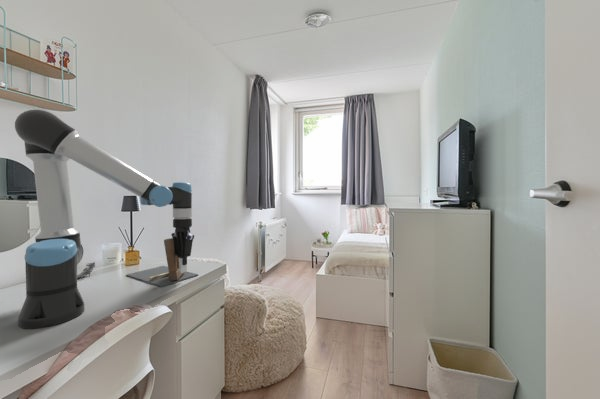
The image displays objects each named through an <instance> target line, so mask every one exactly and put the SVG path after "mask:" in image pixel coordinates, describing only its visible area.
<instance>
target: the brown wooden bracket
mask: <svg viewBox="0 0 600 399" xmlns="http://www.w3.org/2000/svg"><path fill="white" fill-rule="evenodd" d="M163 243H164V244H163V246H164V251H165V256H166V262H167V267H168V270H169V273H168V277H169V281H174V280H178V279H179V278H180V277H181V276H182V275H183V274H184V273H185V272H184V273H179V257H178V256H177V255H175V249H174V243H173V238H172V237H171V238H166V239H164V240H163Z"/></svg>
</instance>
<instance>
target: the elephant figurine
mask: <svg viewBox="0 0 600 399" xmlns="http://www.w3.org/2000/svg"><path fill="white" fill-rule="evenodd" d="M95 263H96V262H95V261H93V262H91V263H90V262H89V263H86V264H85V266H86V267H84V269H83V270H82V271H81V272H80V273H79V274H78V273H77V280H79V279H80V278H81V277H83V276H84V275H88V277H91V273H92V272H93V270H94V269H95V267H96V264H95Z"/></svg>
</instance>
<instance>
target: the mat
mask: <svg viewBox="0 0 600 399" xmlns="http://www.w3.org/2000/svg"><path fill="white" fill-rule="evenodd" d="M167 272H169V270H168V265H167V266H166V265H161V266H160V265H159V266H157V267H153V268H148V269H144V270H143V269H142V270H139V271H136V272H135V271H134V272H131V273H128V274H125V276H126V277H129V278H132V279H135V280H138V281H141V282H144V283H147V284H150V285H153V286H157V287H160V288H162V287H165V286H166V287H167V286H169V285H172V284H176V283H179V282H182V281H185V280H189V279H192V278H195V277H198V276H199V274H197V273H193V272H190V271H187V272H185V273H184V274H183V275H182V276H181V277H180V278H179V279H178V280H174V281H169V277H164V278H161V279H157V280H153V281H150V277H152V276H156V275H160V274H164V273H167Z"/></svg>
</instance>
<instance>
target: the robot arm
mask: <svg viewBox="0 0 600 399" xmlns="http://www.w3.org/2000/svg"><path fill="white" fill-rule="evenodd" d="M14 129H15V130H14V131H15V132H16V134H17V135H18V137H19V138H20V139H21V140H23V142H24V150H25V156H26V158H27V157H28V159H30V160H31V161H32V163H33V173H34V182H35V189H36V190H35V191H36V200H37V209H38V218H39V228H40V232H39V233H38V234H37V235H36V236H35V240H34V241H35V242H33V243H31V244H29V245H28V246H27V247H26V249H25V254H24V261H25V290H26V293H25V296H26V298H25V299H24V302H23V305H22V307H21V310H20V312H19V314H18V318H17V320H18V327H19V328H23V329H38V328H40V329H41V328H47V327H50V326H55V325H58V324H63V323H65V322H68V321H70V320H73V319H75V318H77V317H79V316H81V315H82V314H83V313H84V312H85V301H84V299H83V297H82V295H81V293H80V291H79V289H78V279H77V275H78V264H80V262H81V261H82V259H83V256H84V247H83V244H82V241H81V236H80V235H81V234H80V231H79V230H77V229H76V228H75V227H74V220H73V219H74V217H73V208H72V198H71V190H70V179H69V171H68V161H69V160H70V159H71V160H72V161H74V162H76V163H77V164H79V165H81V166H83V167H85V168H86V169H89V170H90V171H92V172H94V173H96V174H98V175H99V176H101V177H103V178H105V179H107V180H108V181H110V182H112V183H114V184H116V185H117V186H119V187H122V188H123V189H125V190H127V191H128V192H130V193H132V194H134V195H136V196H138V197H139V202H140V204H141V205H142V206H155V207H159V208H162V207H166V206H168V205H172V218H173V219H172V227H173V228H175V229H174V232H172V233H171V238H173V243H174V249H175V255H177V256H178V257H179V273H184V272H188V271H187V270H188V257H190V256H191V253H192V247H193V242H194V238H195V234H192V233H191V227H192V226H193V219H192V216H193V215H192V212H193V211H192V210H193V209H192V206H193V204H192V201H193V200H192V199H193V197H192V195H193V192H192V191H193V190H192V184H191V183H189V182H182V181H181V182H176V181H175V182H173V183H172V186H165V185H162V184H161V183H159V182H157V181H155V180H154V179H152V178H150V177H149V176H147V175H145V174H144V173H142V172H140V171H139V170H137V169H136V168H134V167H132V166H130V165H129V164H127V163H125V162H124V161H122V160H120V159H119V158H117V157H115V156H114V155H112V154H110V153H108V152H107V151H105V149H104V150H103V149H102V148H100V147H98V146H97V145H95V144H94V143H93V142H90V141H89V140H87V139H86V138H84V137H82V136H80V134H79V131H78V130H77V129H75V128H73V127H71V126H70V125H68V124H67V123H66V122H65V121H63V120H62V119H61V118H59V117H58V116H57V115H55V113H52V112H50V111H46V110H44V109H28V110H26V111H23V112H21V113H20V114H19V115H18V116H17V117H16V119H15V121H14Z"/></svg>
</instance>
